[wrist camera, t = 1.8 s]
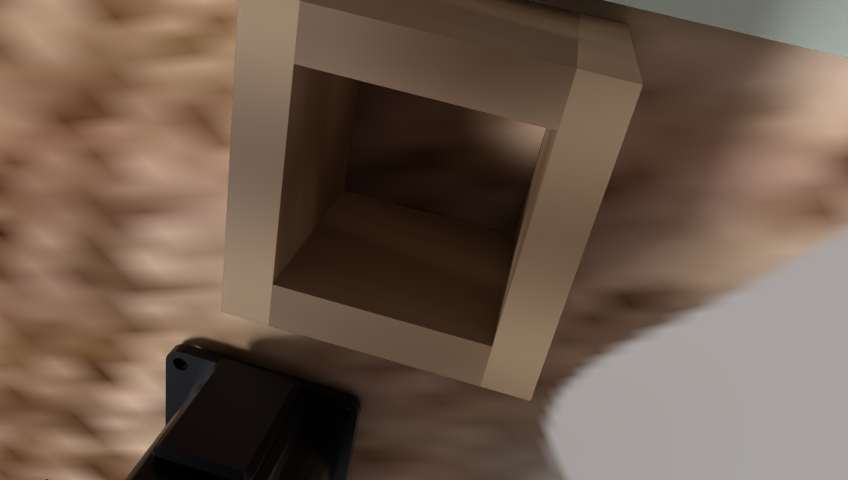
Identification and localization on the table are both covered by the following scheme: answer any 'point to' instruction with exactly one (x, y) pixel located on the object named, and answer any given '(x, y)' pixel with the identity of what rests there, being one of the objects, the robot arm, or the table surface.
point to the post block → (766, 19)
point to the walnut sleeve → (402, 226)
